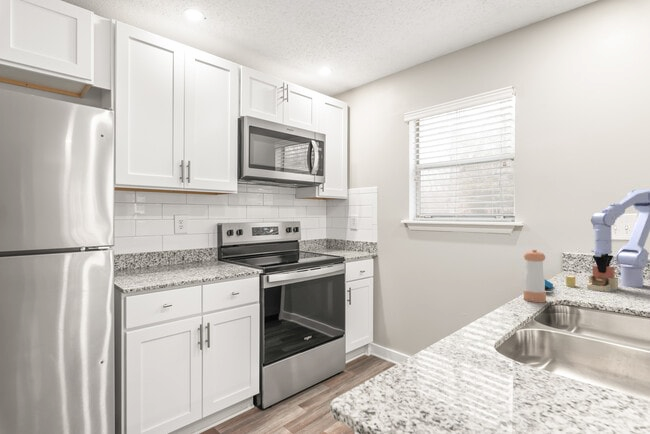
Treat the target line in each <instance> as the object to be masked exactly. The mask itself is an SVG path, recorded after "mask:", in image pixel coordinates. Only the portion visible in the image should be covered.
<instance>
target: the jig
mask: <svg viewBox="0 0 650 434" xmlns="http://www.w3.org/2000/svg"><path fill="white" fill-rule="evenodd" d="M591 276H593V274H591V275H589V276H588V283H587V284H586V285H587V287H585V288H583V290H589V291H598V292H605V293H611V292H613V291H617V290H618V289H620V287H619V277H615V279H613V278H608V282H609V285H606V286H597V285H592V280H591ZM595 279H596V278H595Z"/></svg>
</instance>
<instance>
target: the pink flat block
mask: <svg viewBox="0 0 650 434" xmlns="http://www.w3.org/2000/svg"><path fill="white" fill-rule="evenodd" d="M592 275H595V278H601V279H602V277H604V276H606V279H608V278H613V279H615V275H616V274H615V267H614V266H609V267H606V272H605V273H600V272H599V271H598V268H597V265H593V266H592Z"/></svg>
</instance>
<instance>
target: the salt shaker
mask: <svg viewBox="0 0 650 434" xmlns="http://www.w3.org/2000/svg"><path fill="white" fill-rule="evenodd" d="M523 258H524V260H526V262H525V264H526V266H525V267H526V270H525V271H526V272H525V277H524V290H523V300H524V299H525V300H524V301H526V300H527V302H531V301H532V302H531V303H545V301H546V302H547V292H546V290H545V289H546V288H545V280H546V279H545V276H544V275H545V274H544V261H545V259H546V255H545V254H544V253H543V252H540V251H538V250H537V249H532V250H531V251H528V252H525V253H524V255H523ZM544 279H545V280H544Z"/></svg>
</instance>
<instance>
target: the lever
mask: <svg viewBox="0 0 650 434" xmlns="http://www.w3.org/2000/svg"><path fill="white" fill-rule="evenodd" d="M544 280H545V289H551V288H553V287H554V284H553V283H552V282H551V281H549V280H547V279H545V278H544Z"/></svg>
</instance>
